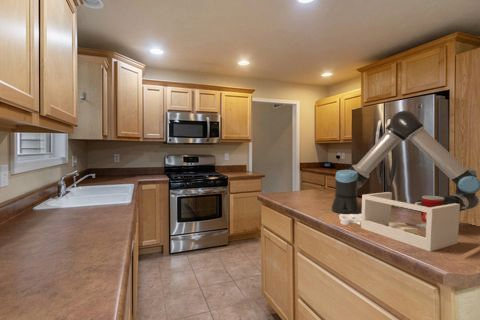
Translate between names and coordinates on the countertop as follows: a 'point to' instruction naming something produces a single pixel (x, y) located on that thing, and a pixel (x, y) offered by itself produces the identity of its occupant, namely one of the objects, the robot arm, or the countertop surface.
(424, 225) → the mat
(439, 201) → the canned food
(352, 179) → the robot arm
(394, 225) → the offcut top
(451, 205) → the rack
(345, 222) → the white brass knuckles
